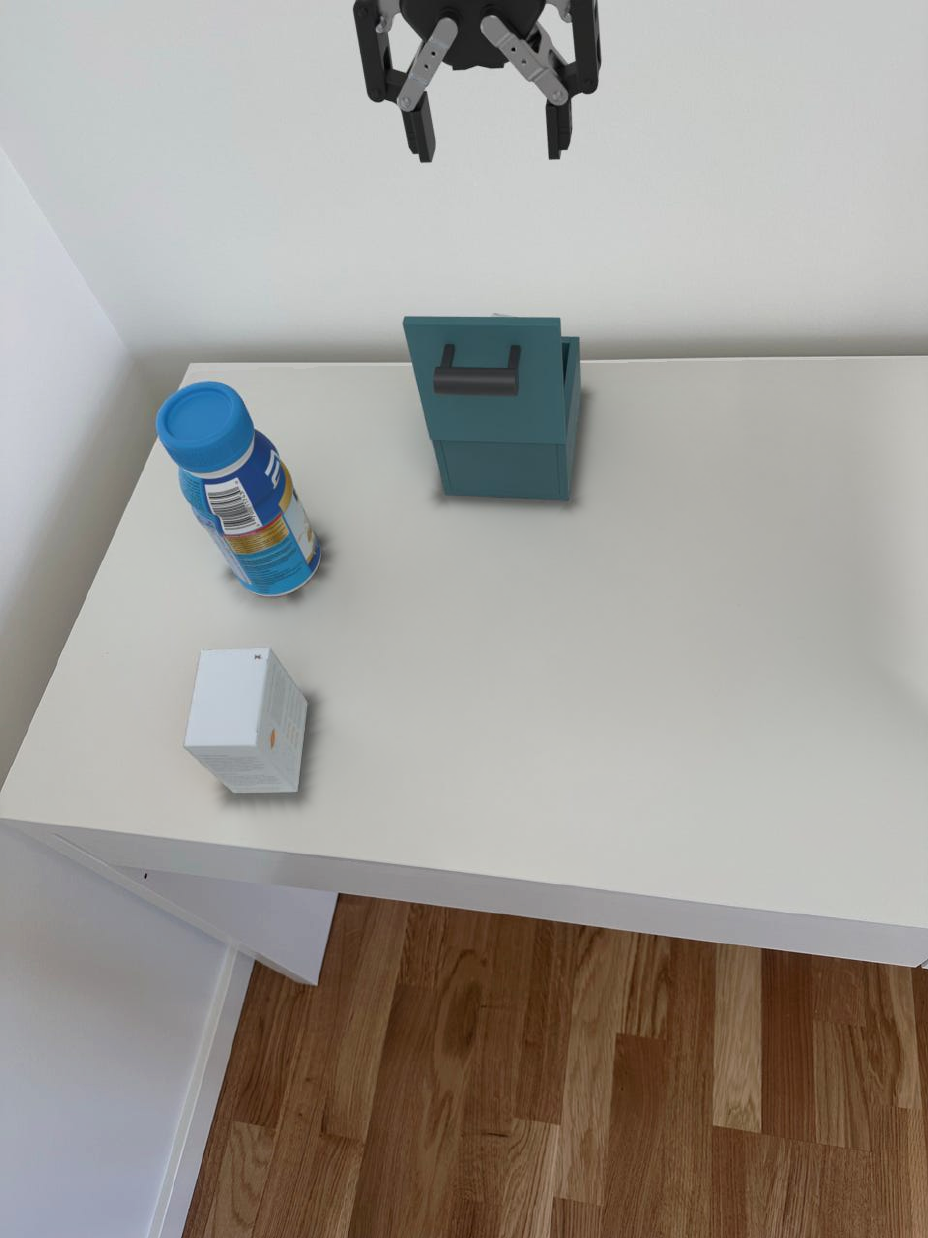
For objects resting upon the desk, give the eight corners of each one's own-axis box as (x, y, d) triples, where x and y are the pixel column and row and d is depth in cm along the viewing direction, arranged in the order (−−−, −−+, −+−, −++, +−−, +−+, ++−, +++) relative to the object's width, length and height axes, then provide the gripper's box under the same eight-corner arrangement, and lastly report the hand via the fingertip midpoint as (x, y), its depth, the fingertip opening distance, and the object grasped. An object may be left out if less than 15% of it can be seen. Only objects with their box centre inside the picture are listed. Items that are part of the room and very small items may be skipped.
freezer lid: (404, 315, 68) (390, 366, 65) (560, 316, 66) (552, 369, 63) (431, 433, 79) (420, 480, 76) (566, 437, 77) (559, 486, 74)
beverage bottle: (217, 579, 84) (118, 435, 67) (270, 511, 87) (189, 357, 70) (289, 614, 81) (206, 472, 64) (341, 543, 84) (275, 389, 67)
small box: (246, 704, 77) (199, 646, 68) (310, 702, 77) (271, 644, 68) (231, 795, 74) (179, 747, 64) (298, 794, 73) (256, 745, 64)
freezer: (464, 393, 92) (454, 334, 85) (581, 396, 90) (579, 336, 83) (444, 494, 86) (431, 440, 79) (568, 500, 84) (565, 444, 77)
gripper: (305, -95, 46) (376, 193, 60) (590, -120, 43) (595, 188, 57) (339, -164, 50) (398, 123, 63) (604, -192, 47) (605, 115, 61)
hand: (491, 153), depth 60 cm, fingers open, 8 cm apart
